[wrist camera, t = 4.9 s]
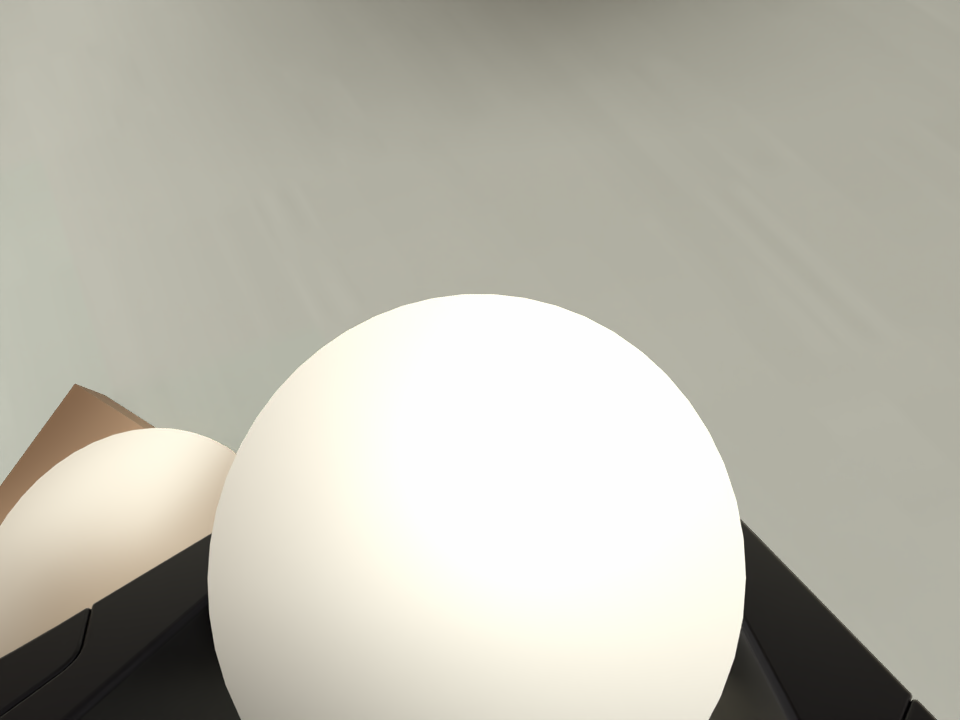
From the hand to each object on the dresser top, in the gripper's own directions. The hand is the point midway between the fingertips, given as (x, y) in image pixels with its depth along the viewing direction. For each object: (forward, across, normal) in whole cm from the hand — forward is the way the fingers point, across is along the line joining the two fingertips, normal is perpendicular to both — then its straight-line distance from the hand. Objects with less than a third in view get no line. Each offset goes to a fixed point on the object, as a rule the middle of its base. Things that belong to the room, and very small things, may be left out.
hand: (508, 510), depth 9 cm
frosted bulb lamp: (+4, 0, +5) cm, 7 cm away
